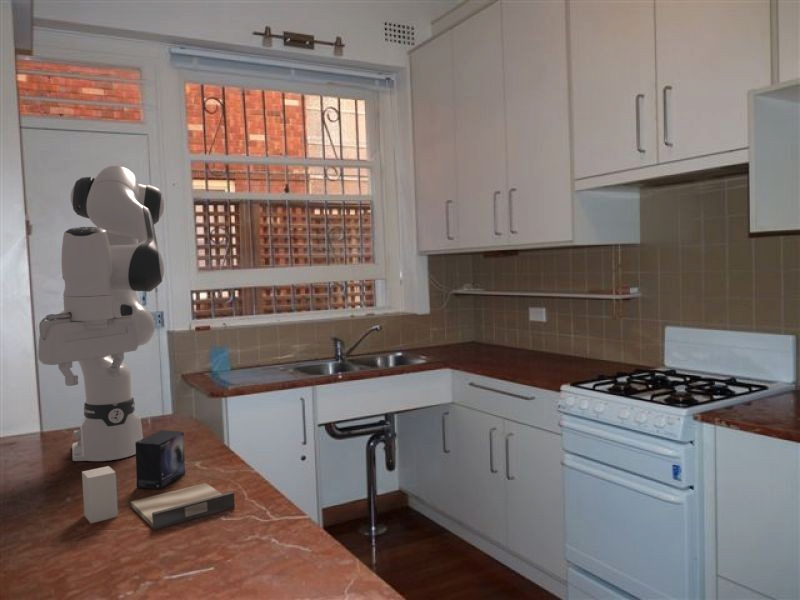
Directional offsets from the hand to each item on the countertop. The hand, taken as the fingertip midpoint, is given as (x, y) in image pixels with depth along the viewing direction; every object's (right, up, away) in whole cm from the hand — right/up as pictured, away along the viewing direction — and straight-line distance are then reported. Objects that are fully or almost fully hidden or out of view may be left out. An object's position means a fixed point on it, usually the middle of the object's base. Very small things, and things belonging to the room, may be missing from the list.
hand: (93, 380), depth 125 cm
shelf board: (+15, -27, +6) cm, 31 cm away
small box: (+5, -26, +21) cm, 34 cm away
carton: (+1, -27, +2) cm, 27 cm away
